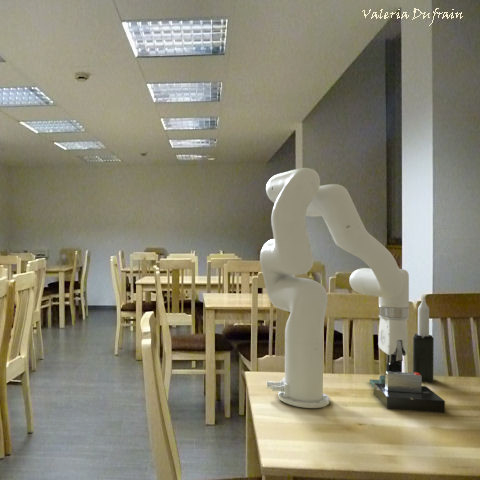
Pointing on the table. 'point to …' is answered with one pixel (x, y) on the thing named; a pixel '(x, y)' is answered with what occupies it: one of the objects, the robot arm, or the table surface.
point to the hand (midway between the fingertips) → (393, 377)
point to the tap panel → (410, 400)
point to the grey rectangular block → (403, 382)
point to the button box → (381, 380)
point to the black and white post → (423, 345)
